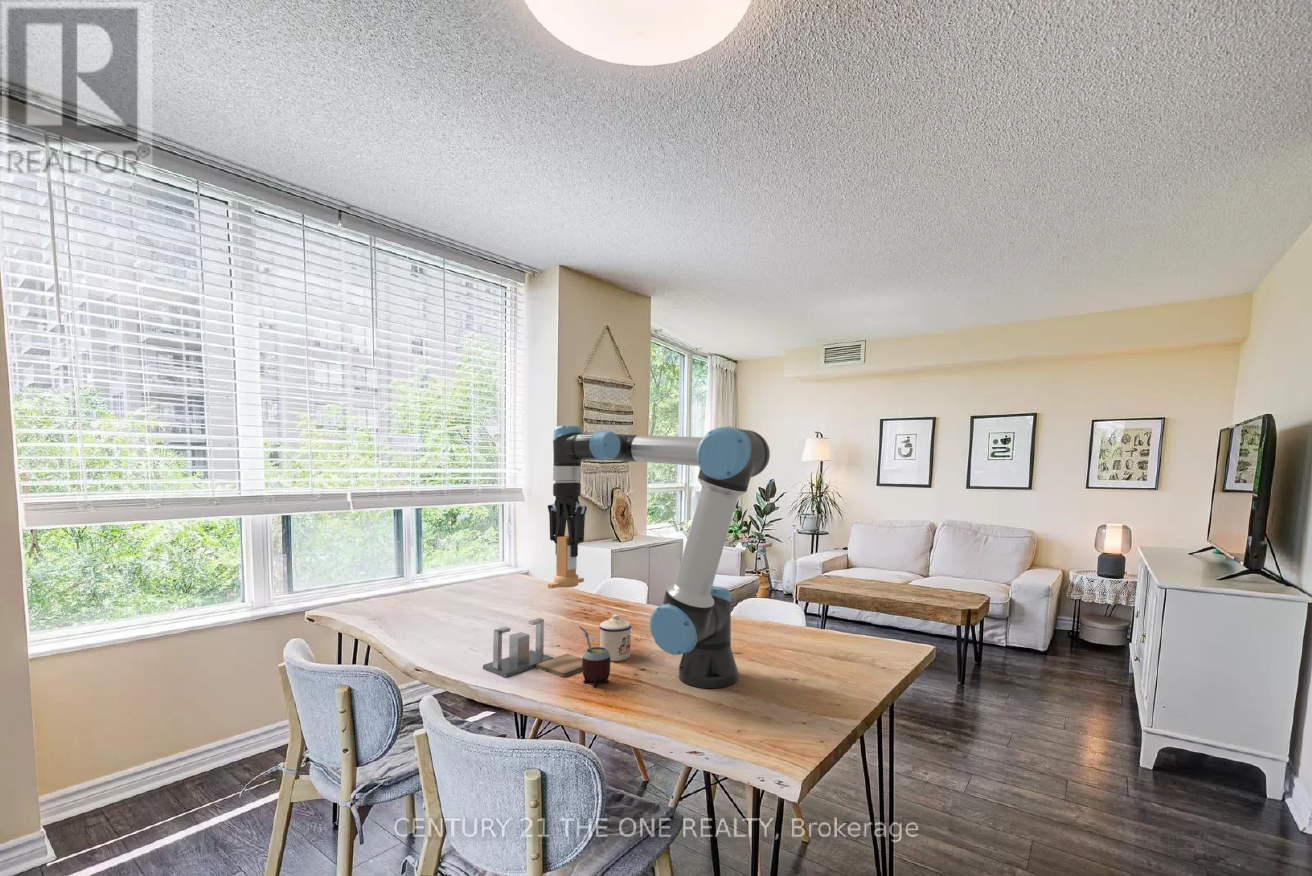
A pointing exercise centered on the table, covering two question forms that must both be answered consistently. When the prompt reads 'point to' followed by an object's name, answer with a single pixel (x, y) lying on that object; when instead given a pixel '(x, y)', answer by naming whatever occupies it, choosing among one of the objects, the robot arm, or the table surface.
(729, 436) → the robot arm
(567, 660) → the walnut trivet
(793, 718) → the table surface
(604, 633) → the teacup with lid
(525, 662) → the grey double hook stand
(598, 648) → the mate gourd
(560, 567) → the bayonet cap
